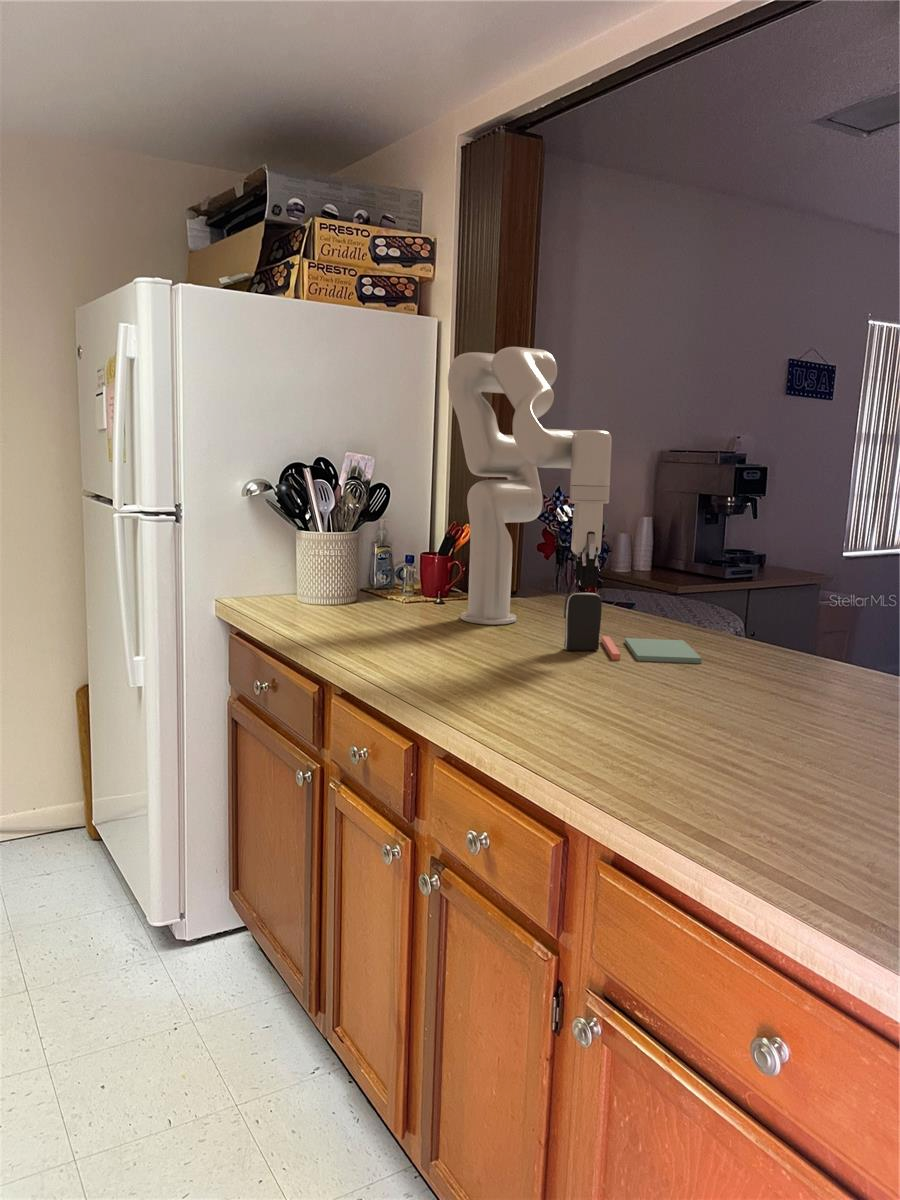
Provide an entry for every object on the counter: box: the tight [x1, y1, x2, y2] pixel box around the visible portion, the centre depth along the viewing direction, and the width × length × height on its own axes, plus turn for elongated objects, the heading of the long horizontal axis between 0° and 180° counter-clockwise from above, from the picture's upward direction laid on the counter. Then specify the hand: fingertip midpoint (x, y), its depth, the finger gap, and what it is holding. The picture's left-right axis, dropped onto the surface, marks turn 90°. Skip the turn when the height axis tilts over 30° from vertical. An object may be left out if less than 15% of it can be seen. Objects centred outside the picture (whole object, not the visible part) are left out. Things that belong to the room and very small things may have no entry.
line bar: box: [601, 635, 621, 661], centre depth 181 cm, size 16×2×1 cm, turn 178°
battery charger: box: [563, 591, 603, 652], centre depth 180 cm, size 7×4×11 cm, turn 102°
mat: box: [624, 637, 703, 664], centre depth 181 cm, size 16×12×1 cm
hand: (585, 583), depth 179 cm, fingers open, 9 cm apart
